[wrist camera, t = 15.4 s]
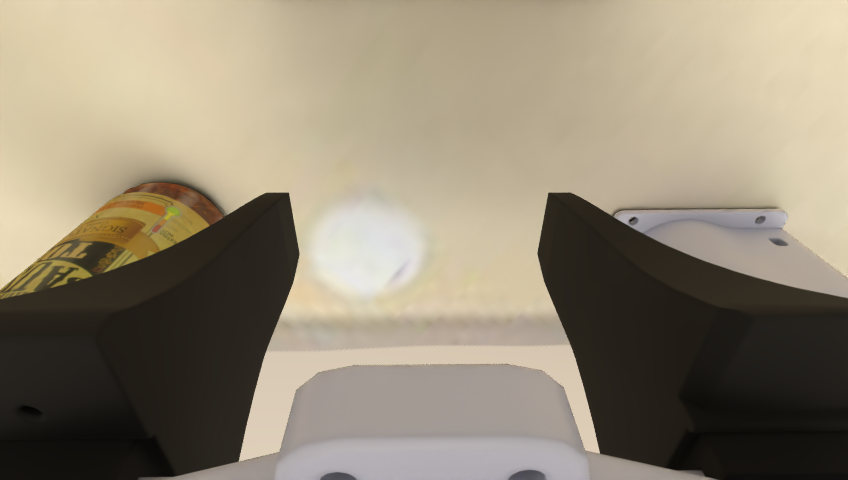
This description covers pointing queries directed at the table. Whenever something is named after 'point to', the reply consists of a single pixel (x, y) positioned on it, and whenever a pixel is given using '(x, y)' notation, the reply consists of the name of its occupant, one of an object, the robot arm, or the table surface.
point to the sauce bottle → (119, 235)
